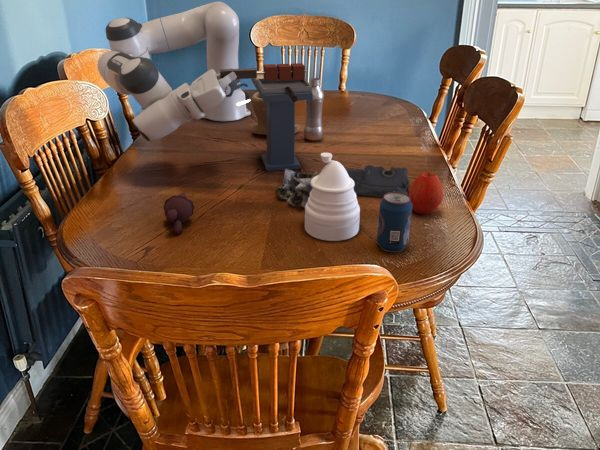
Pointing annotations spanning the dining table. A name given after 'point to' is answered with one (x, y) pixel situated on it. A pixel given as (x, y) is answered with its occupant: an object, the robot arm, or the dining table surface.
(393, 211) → the soda can
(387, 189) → the dark slate chunk
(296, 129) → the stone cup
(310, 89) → the steel pan
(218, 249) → the dining table surface
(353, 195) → the honey pot
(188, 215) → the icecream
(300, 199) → the foil
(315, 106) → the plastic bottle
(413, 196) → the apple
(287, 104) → the stand
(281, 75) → the beef skewer
